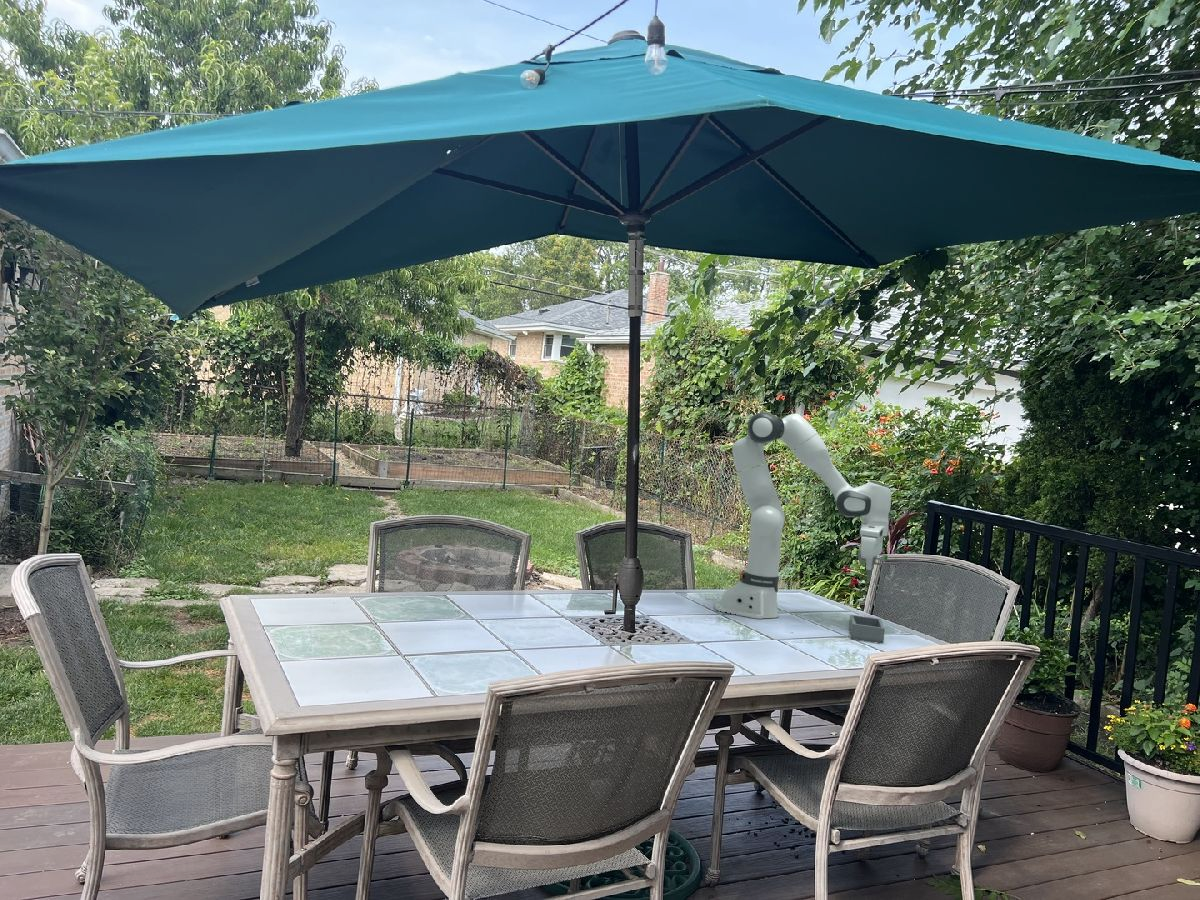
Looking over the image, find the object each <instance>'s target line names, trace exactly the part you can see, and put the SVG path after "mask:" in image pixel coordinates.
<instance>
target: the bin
mask: <svg viewBox="0 0 1200 900" xmlns="http://www.w3.org/2000/svg"><path fill="white" fill-rule="evenodd" d="M848 626H849V627H848V632H849V631H850V632H849V635H851V636H850V640H853V639H857V640H856V641H860V640H864V641H863V642H866V641H870V642H869V643H873V642H877V643H876V644H880V643H883V644H884V640H885V639H884V638H885V630H886V628H885V626H884V624H883V621H882V618H876V617H869V616H863V615H856V614H850V615H849V624H848Z"/></svg>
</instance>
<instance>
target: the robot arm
mask: <svg viewBox="0 0 1200 900" xmlns="http://www.w3.org/2000/svg"><path fill="white" fill-rule="evenodd" d="M775 440H780V441H782V442H783V443H784V444H785V445H786V446H787V447H788V449H789V450H790V451H791V453H792V454H793V455H794V457H795V458H796V459H797V460H798V461H799V462H800V463H801V464H802V465H804V466H805V467H806V468H808V469H810V470H812V471H813V473H816V474H817V475H818V476H819V477H820V478H821V480H822V481H823V482H824V484H825V485H826V487H828V489H829V491H830V492H831V493H832V495H833V497H834V503H835V505H836V509H837V510H838V511H839V513H840V514H841V515H842V516H844V517H848V518H849V517H850V518H853V517H861V524H860V530H859V535H861V537H860V538H861V539H860V550H861V557H862V558H866V563H865V569H866V571H868V570H871V569H872V560H873V558H874V557H876V556H879V555H880V554H882V551H883V543H884V541H883V540H884V537H887V536H888V533H889V532H888V531H889V522H890V521H889V513H890V511H891V504H892V491H891V489H890V487H889V486H888V485H886V484H884V483H880V482H878V481H871V480H870V481H868V482H867V483H864V484H861V485H859V486H857V487H854V486H853V485H851V484H849V483H848V481H846V479H845V478H844V477H843V475H842V474H841V473H840V472H839V471H838V469H837V468H836V467H835V465H834V462H833V461H832V459H831V456H830V453H829V450H828V448H827V446H826V444H825V442H824V440H823V438H822V437H821V436H820V434H819V433H818V432H817V430H816V429H815V428H814V426H813V425H811V424H810V422H808V420H806V419H805V418H804V417H803V416H802V414H801V415H800V414H799V413H791V414H788V415H786V416H784V417H783V418H781V417H779V416H776V415H774V414H772V413H771V412H767V411H762V412H758V413H756V414H753V416H751V417H750V419H749V421H748V424H747V434H746V435H745V436H744V437H741V438H739V439H737V440H736V441H734V443H733V444H732V448H731V449H732V456H733V458H732V459H733V463H734V467H735V471H736V474H737V477H738V480H739V484H740V487H741V490H742V494H743V496H744V498H745V500H746V502H747V505H748V508H749V510H750V514H751V516H750V522H749V523H750V525H749V538H748V539H749V540H748V554H747V555H748V557H747V563H746V565H747V566H746V571H745V570H741V572H740V573H739V576H740V577H739V582H737V583H736V584H734V585H732V586H730V587H729V588H728V589H726V590H725V591H724V593H723V594H722V598H721V601H718V602H717V603H715V604H714V609H715V610H716V611H717V610H718V611H717V612H720V611H721V612H720V613H725V612H727V613H726V614H730V613H731V615H735V614H736V616H740V617H741V616H742V617H745V618H746V617H747V618H751V619H757V620H760V619H774V618H778V617H779V610H778V596H777V595H778V591H779V585H780V576H779V570H780V563H781V562H780V561H781V549H782V547H781V546H782V535H783V527H784V525H785V521H786V516H785V513H784V510H783V507H782V503H781V501H780V499H779V496H778V493H777V491H776V488H775V484H774V481H773V479H772V476H771V473H770V469H769V467H768V463H767V459H766V457H765V452H764V448H765V446H767V445H769V444H770V443H772V442H774V441H775ZM876 558H877V557H876Z"/></svg>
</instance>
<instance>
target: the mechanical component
mask: <svg viewBox="0 0 1200 900" xmlns="http://www.w3.org/2000/svg"><path fill="white" fill-rule="evenodd" d="M855 552H856V553H855V555H856V556H858V557H857V559H858V560H857V561H859V562H860V563H864V564H866V558H862V557H861V549H859V550H856V551H855ZM878 556H879V555H877V556H876V557H874V558H873V560H872V569H871V570H866V571H867V572H866V579H865V580H866V582H871V581H872V575H873V569H875V566H882V565H884V564H885V561H888V557H889V556H888V555H886V554H882V556H881V557H880V558H879V557H878ZM878 560H879V561H882V562H877V561H878Z"/></svg>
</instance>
